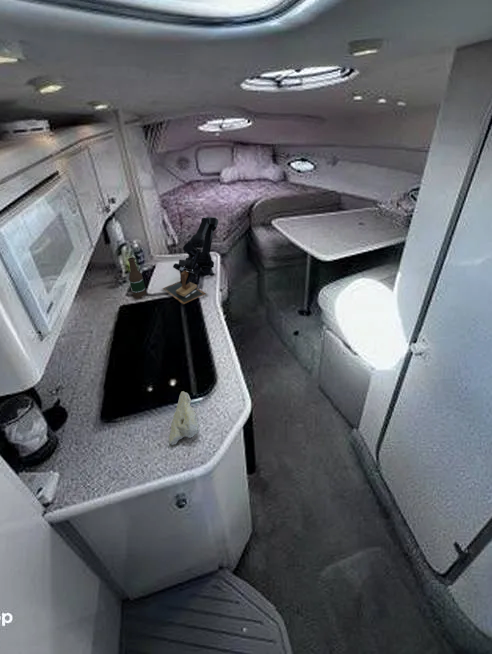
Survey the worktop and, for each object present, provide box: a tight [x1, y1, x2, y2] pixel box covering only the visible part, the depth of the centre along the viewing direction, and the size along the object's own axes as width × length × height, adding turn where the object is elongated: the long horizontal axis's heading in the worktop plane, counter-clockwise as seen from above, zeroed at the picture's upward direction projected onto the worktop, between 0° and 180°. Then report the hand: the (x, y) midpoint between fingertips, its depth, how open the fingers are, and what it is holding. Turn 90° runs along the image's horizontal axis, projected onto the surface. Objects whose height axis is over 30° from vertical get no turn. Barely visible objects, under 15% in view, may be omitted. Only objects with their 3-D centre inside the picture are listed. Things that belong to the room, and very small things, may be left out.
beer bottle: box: [127, 257, 147, 300], centre depth 188 cm, size 8×8×24 cm
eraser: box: [176, 271, 198, 298], centre depth 188 cm, size 6×11×13 cm, turn 147°
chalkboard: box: [161, 280, 207, 305], centre depth 194 cm, size 24×15×1 cm, turn 41°
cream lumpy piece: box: [168, 390, 200, 446], centre depth 113 cm, size 15×7×15 cm
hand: (183, 284), depth 186 cm, fingers closed on eraser, 3 cm apart
